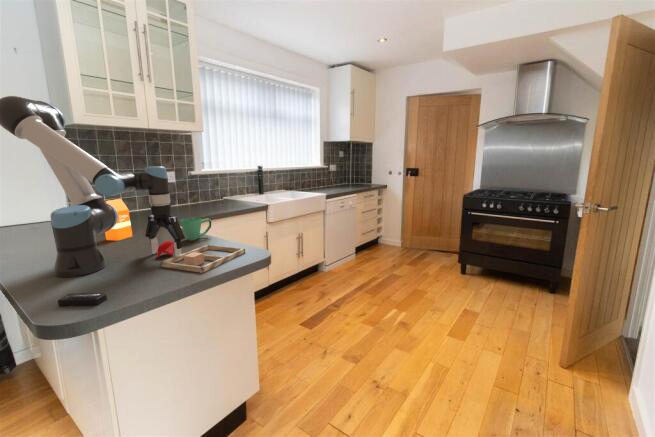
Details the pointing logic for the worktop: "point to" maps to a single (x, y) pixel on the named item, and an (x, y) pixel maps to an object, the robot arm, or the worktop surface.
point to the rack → (216, 259)
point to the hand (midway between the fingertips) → (167, 254)
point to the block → (194, 259)
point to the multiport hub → (82, 299)
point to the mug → (193, 227)
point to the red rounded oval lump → (166, 248)
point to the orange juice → (120, 222)
